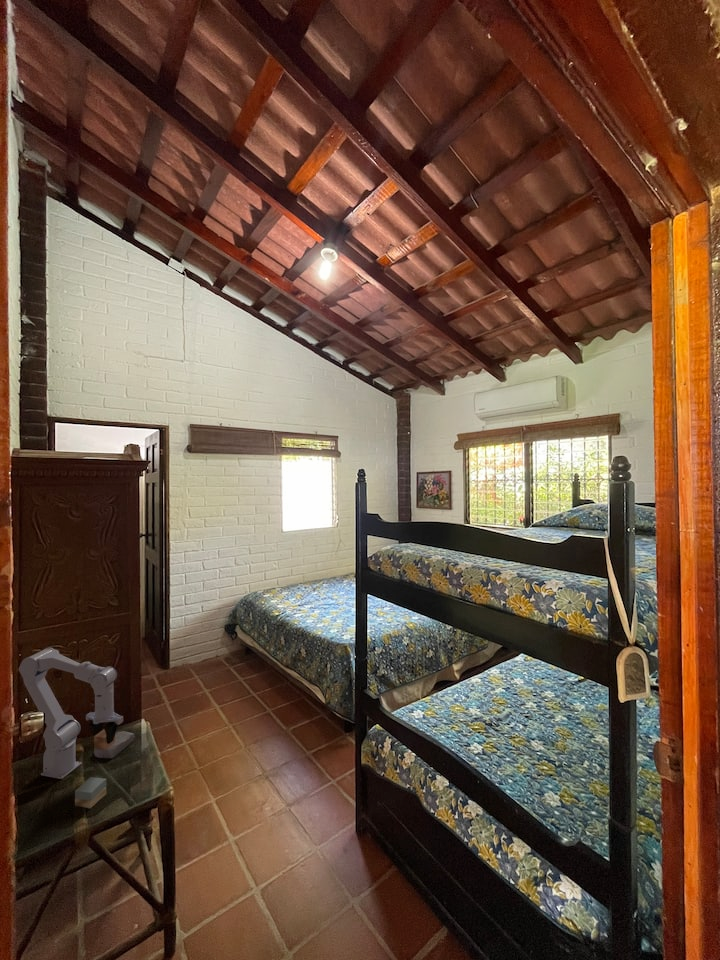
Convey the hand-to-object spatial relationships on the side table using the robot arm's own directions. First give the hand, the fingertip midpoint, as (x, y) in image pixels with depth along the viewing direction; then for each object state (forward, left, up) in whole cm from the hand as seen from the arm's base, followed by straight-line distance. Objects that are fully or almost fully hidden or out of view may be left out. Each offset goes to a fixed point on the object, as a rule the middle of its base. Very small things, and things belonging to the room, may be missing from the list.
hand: (104, 741), depth 141 cm
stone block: (-7, +11, -11) cm, 17 cm away
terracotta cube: (0, 0, -2) cm, 2 cm away
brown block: (+7, -12, -11) cm, 18 cm away
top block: (+7, -12, -8) cm, 16 cm away
